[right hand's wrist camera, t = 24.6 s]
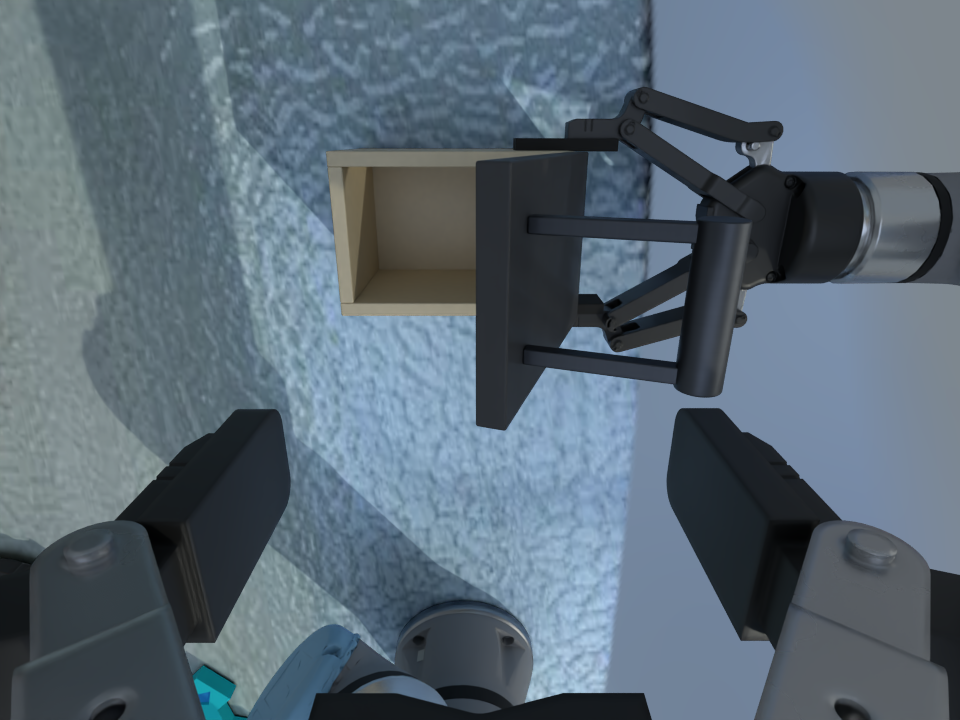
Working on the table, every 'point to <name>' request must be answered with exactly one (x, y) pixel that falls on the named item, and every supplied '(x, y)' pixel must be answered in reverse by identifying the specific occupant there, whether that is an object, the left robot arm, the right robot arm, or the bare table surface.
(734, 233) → the lid
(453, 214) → the chest
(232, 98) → the table surface
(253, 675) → the table surface
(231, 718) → the decorative ornament
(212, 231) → the table surface
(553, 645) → the table surface
